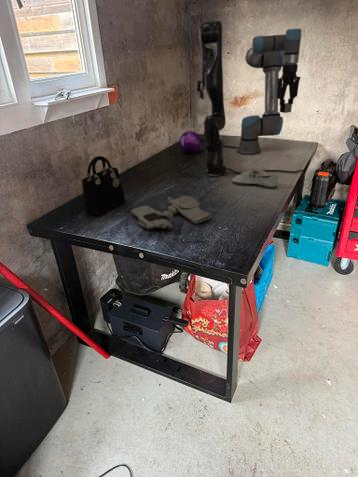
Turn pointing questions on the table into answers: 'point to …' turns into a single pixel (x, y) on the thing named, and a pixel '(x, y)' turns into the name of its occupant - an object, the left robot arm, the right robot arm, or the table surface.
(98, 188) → the handbag
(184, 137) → the decorative orb
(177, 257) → the table surface
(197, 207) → the pair of gloves
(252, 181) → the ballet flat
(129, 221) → the table surface
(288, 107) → the metal block
